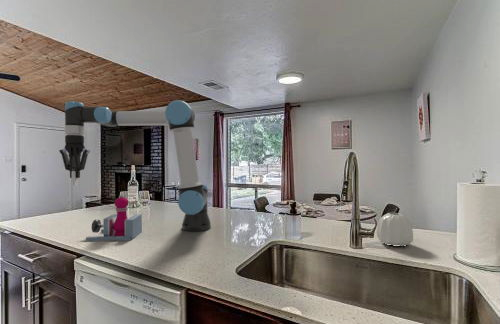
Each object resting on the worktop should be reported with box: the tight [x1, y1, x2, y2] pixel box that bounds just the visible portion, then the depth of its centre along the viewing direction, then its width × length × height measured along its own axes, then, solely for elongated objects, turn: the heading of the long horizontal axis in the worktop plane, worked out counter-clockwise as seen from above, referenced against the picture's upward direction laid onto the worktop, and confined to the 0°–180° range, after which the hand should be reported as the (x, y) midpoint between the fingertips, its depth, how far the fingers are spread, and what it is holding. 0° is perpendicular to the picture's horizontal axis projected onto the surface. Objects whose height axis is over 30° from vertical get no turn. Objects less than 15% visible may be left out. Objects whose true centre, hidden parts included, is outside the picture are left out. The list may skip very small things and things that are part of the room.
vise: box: [85, 213, 143, 242], centre depth 131 cm, size 20×15×9 cm
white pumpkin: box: [376, 212, 414, 246], centre depth 119 cm, size 14×14×13 cm
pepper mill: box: [113, 193, 130, 236], centre depth 131 cm, size 7×7×20 cm
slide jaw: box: [91, 213, 117, 236], centre depth 131 cm, size 9×10×9 cm
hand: (75, 185), depth 130 cm, fingers closed
